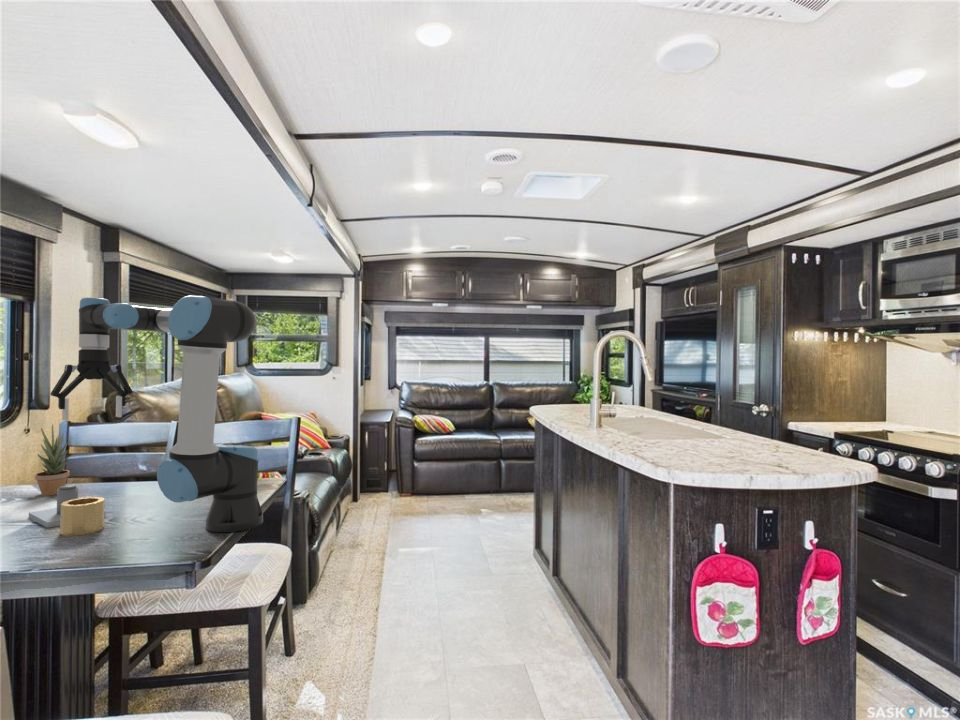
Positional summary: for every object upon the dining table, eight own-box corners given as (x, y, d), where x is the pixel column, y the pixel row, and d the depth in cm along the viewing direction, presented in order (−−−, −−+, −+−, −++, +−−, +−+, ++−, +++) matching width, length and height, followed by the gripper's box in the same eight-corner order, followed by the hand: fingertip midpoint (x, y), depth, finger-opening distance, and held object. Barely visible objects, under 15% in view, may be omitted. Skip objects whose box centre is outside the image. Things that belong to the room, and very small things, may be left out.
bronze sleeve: (109, 529, 145) (109, 500, 145) (68, 538, 138) (68, 508, 138) (95, 523, 151) (96, 495, 151) (55, 531, 143) (56, 502, 143)
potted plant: (28, 494, 180) (29, 423, 181) (59, 488, 189) (60, 421, 189) (45, 498, 177) (47, 425, 177) (76, 492, 185) (77, 422, 185)
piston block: (105, 516, 157) (105, 486, 157) (47, 527, 146) (48, 495, 146) (84, 507, 166) (85, 478, 166) (28, 517, 155) (29, 487, 155)
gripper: (135, 350, 171) (134, 414, 171) (38, 347, 151) (36, 420, 151) (144, 350, 166) (143, 416, 166) (46, 347, 146) (44, 422, 146)
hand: (92, 418), depth 158 cm, fingers open, 13 cm apart
